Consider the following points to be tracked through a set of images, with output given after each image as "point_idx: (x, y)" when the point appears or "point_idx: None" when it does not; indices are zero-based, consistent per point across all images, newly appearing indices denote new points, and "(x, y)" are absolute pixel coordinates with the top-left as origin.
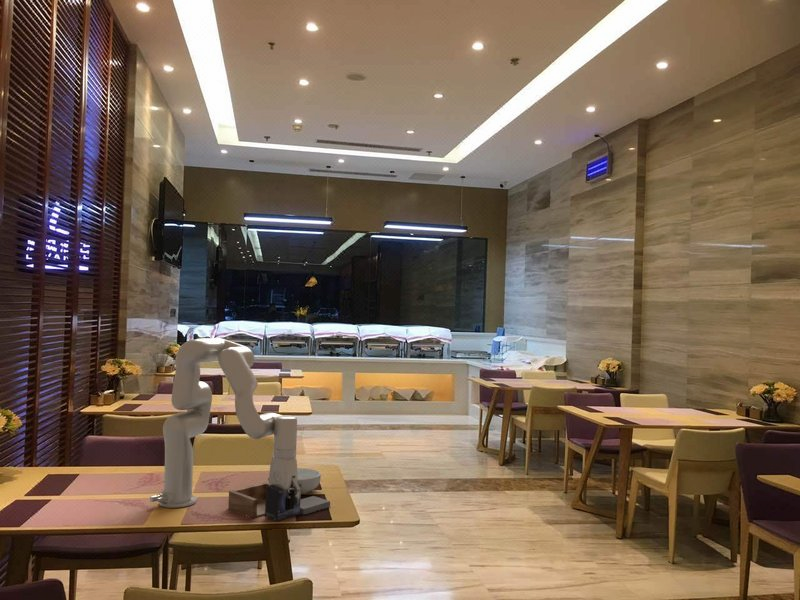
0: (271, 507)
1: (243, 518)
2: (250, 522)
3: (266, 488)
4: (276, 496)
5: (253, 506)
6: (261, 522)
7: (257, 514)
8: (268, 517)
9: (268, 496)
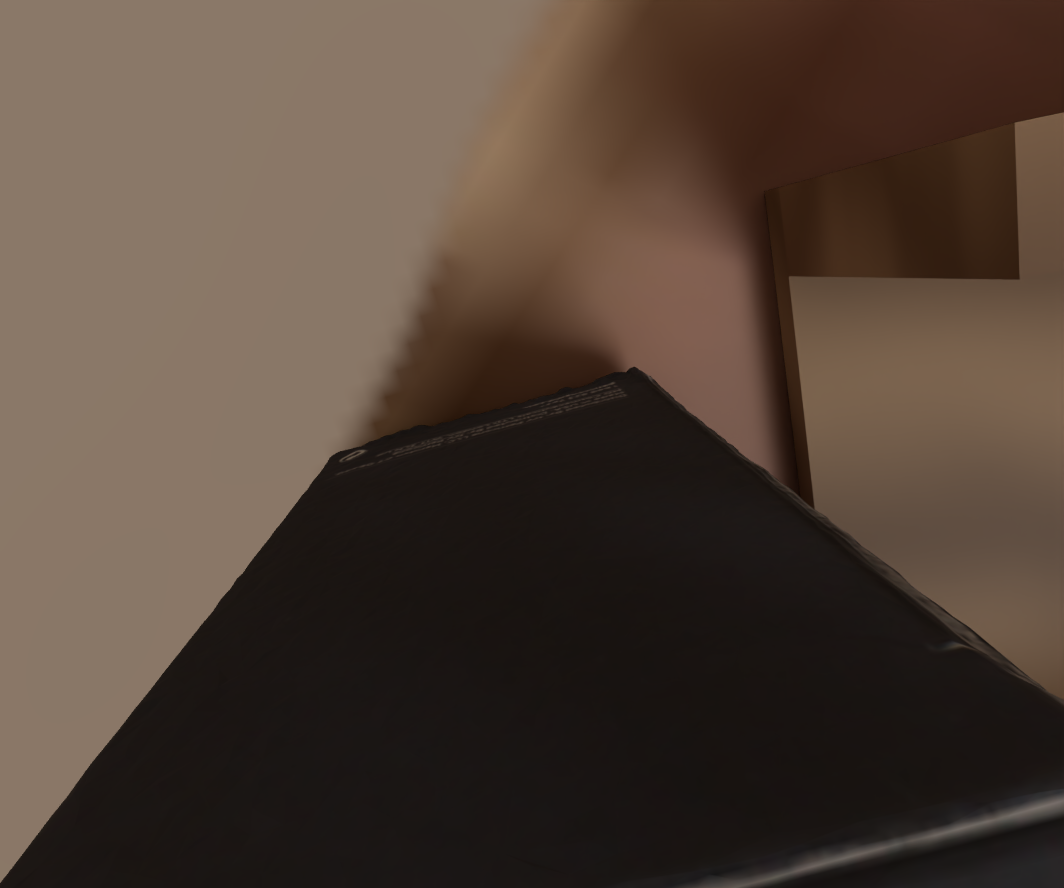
0: (452, 482)
1: (876, 37)
2: (595, 54)
3: (1000, 674)
4: (136, 744)
5: (889, 163)
6: (482, 236)
7: (835, 313)
8: (530, 401)
9: (647, 546)
